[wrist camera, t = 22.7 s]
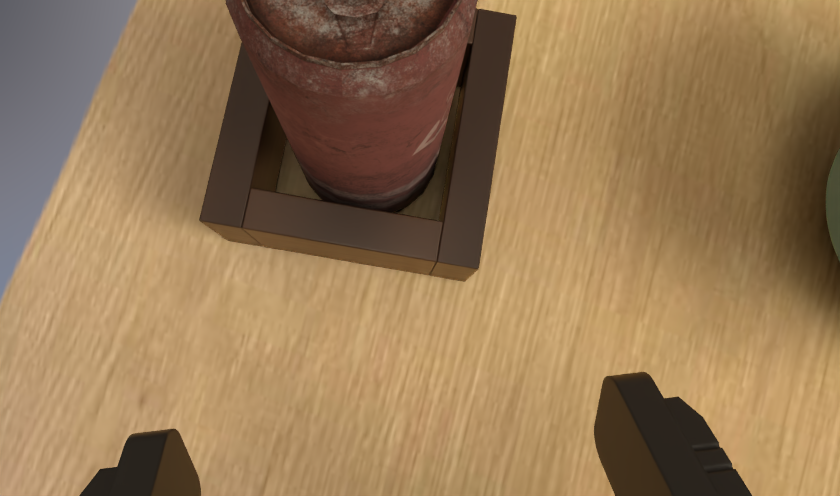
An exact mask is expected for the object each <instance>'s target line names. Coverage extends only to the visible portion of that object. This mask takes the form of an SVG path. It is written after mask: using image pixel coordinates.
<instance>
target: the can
mask: <svg viewBox="0 0 840 496" xmlns="http://www.w3.org/2000/svg"><path fill="white" fill-rule="evenodd" d="M476 4H477V0H226V5H227V8H228V10H229V12H230V15H231V17H232V20H233V22H234V24H235V27H236V29H237V32H238V34H239V36H240V39H241V41H242V43H243V45H244V47H245V49H246V51H247V54H248V56H249V58H250V60H251V62H252V64H253V66H254V68H255V71H256V73H257V75H258V77H259V79H260V81H261V83H262V85H263V88H264V90H265V92H266V94H267V96H268V98H269V100H270V103H271V105H272V107H273V109H274V111H275V113H276V115H277V117H278V120H279V122H280V124H281V126H282V128H283V130H284V132H285V134H286V137H287V139H288V141H289V143H290V145H291V147H292V149H293V151H294V154H295V156H296V158H297V160H298V162H299V164H300V166H301V168H302V171H303V173H304V175H305V177H306V179H307V181H308V183H309V185H310V186H311V187H312V189H313V190H314V191H315V192H316V193H317V194H318V195H319V197H320V198H321V199H322V200H323V201H329V202H334V203H340V204H346V205H351V206H357V207H363V208H369V209H374V210H380V211H386V212H391V213H392V212H395V211H397V210H400V209H402V208H404V207H406V206H408V205H409V204H410V203H411V202H412V201H413V200H415V199H416V198H417V197H418V196H419V195H421V194H422V193H423V191H424V189H425V188H426V186H427V184H428V183H429V181H430V179H431V178H432V176H433V174H434V170H435V166H436V162H437V158H438V154H439V150H440V147H441V143H442V139H443V135H444V131H445V127H446V123H447V119H448V116H449V112H450V108H451V104H452V100H453V96H454V92H455V88H456V85H457V81H458V77H459V73H460V69H461V65H462V61H463V57H464V53H465V50H466V46H467V42H468V38H469V34H470V30H471V26H472V22H473V18H474V13H475V9H476Z"/></svg>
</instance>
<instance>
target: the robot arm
mask: <svg viewBox="0 0 840 496" xmlns="http://www.w3.org/2000/svg"><path fill="white" fill-rule="evenodd" d="M594 437H595V444H596V448H597V452H598V455H599V458H600V461H601V463H602V465H603V468H604V470H605V472H606V475H607V477H608V480H609V482H610V484H611V487H612V489H613V491H614V494H615V496H752V495H751V493H750V491H749V490H748V488H747V487H746V485H745V484H744V482H743V480H742V479H741V477H740V476H739V474H738V472H737V471H736V469H733V467H732V463H731V461H730V460H729V458H728V457H727V455H726V453H725V452H724V450H723V449H722V448H720V447H719V442H718V441H717V439H716V437H715V436H714V434H713V433H712V431H711V430H710V428H709V426H708V425H707V423H706V422H705V420H704V418H703V417H702V416H701V415H699V414H698V413H697V412H696V411H695V410H694V409H692V408H691V407H690V406H689V405H688V404H686V403H685V402H684V401H683V400H682V399H681V398H679V397H673V398H665V399H664V398H663V396H662V394H661V393H660V391H659V389H658V388H657V386H656V384H655V382H654V381H653V379H652V378H651V376H650V375H649V374H647V373H646V372H638V373H630V374H622V375H614V376H607V377H605V378H604V380H603V384H602V389H601V394H600V399H599V405H598V410H597V415H596V420H595V425H594ZM80 496H201V488H200V481H199V477H198V474H197V472H196V470H195V468H194V465H193V463H192V461H191V458H190V456H189V454H188V452H187V449H186V447H185V445H184V442H183V440H182V438H181V436H180V434H179V432H178V431H177V430H176V429H168V430H160V431H152V432H143V433H135V434H132V435H130V436H129V438H128V439H127V441H126V443H125V445H124V448H123V451H122V454H121V457H120V460H119V463H118V466H117V467H113V468H105V469H100V470H99V471H98V473H97V474H96V475H95V476H94V478H93V479H92V480H91V482H90V483H89V484H88V485H87V487H86V488H85V489H84V490H83V492H82V493H81V494H80Z"/></svg>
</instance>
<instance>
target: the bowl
mask: <svg viewBox="0 0 840 496" xmlns="http://www.w3.org/2000/svg"><path fill="white" fill-rule="evenodd" d="M826 217H827V225H828V230H829V234H830V238H831V241H832V244H833V247H834V250H835V252H836V255H837V257H838V259H839V261H840V148H839V150H838V152H837V154H836V156H835V159H834V161H833V164H832V167H831V169H830V173H829V177H828V181H827V188H826Z"/></svg>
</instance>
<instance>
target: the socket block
mask: <svg viewBox="0 0 840 496" xmlns="http://www.w3.org/2000/svg"><path fill="white" fill-rule="evenodd" d="M516 18H517V17H516V15H510V14H505V13H500V12H494V11H489V10H483V9H477V8H476V9H475V13H474V18H473V22H472V26H471V30H470V34H469V38H468V42H467V46H466V50H465V53H464V57H463V61H462V65H461V69H460V73H459V77H458V81H457V85H456V86H461V89H460V95H459V101H458V107H457V113H456V119H455V125H454V131H453V137H452V143H451V150H450V156H449V162H448V168H447V174H446V180H445V186H444V192H443V198H442V204H441V210H440V216H439V221H437V220H431V219H426V218H420V217H414V216H409V215H403V214H397V213H391V212H386V211H380V210H374V209H369V208H363V207H357V206H351V205H346V204H340V203H334V202H329V201H323V200H317V199H311V198H306V197H300V196H294V195H289V194H283V193H277V192H275V189H276V184H277V180H278V175H279V170H280V166H281V161H282V157H283V152H284V147H285V143H286V138H287V137H286V134H285V132H284V130H283V128H282V126H281V124H280V122H279V120H278V117H277V115H276V113H275V111H274V109H273V107H272V105H271V103H270V100H269V98H268V96H267V94H266V92H265V90H264V88H263V85H262V83H261V81H260V79H259V77H258V75H257V73H256V71H255V68H254V66H253V64H252V62H251V60H250V58H249V56H248V54H247V51H246V49H245V47H244V45H243V43H241V48H240V52H239V56H238V60H237V64H236V69H235V73H234V77H233V81H232V85H231V89H230V94H229V98H228V102H227V106H226V110H225V114H224V119H223V123H222V127H221V131H220V135H219V140H218V144H217V148H216V152H215V156H214V160H213V165H212V169H211V173H210V177H209V181H208V185H207V190H206V194H205V198H204V202H203V206H202V211H201V215H200V219H199V220H200V221H201V222H202V223H204V224H205V225H206V226H208V227H209V228H211V229H212V230H214V231H215V232H217V233H218V234H219V235H221V236H222V237H224V238H225V239H227V240H228V241H234V242H240V243H245V244H251V245H257V246H264V247H269V248H275V249H280V250H286V251H292V252H298V253H303V254H309V255H315V256H321V257H327V258H332V259H338V260H344V261H350V262H355V263H361V264H367V265H373V266H379V267H384V268H390V269H396V270H402V271H407V272H413V273H419V274H425V275H429V274H430V275H431V276H436V277H442V278H448V279H453V280H459V281H466V280H467V279H468V278H469V277H470V276H471V275H472V274H473V273H474V272H476V271H477V270H478V269H479V263H480V256H481V250H482V243H483V237H484V230H485V223H486V217H487V210H488V203H489V197H490V190H491V184H492V177H493V170H494V164H495V157H496V150H497V144H498V137H499V131H500V124H501V117H502V111H503V104H504V97H505V91H506V84H507V78H508V71H509V64H510V58H511V51H512V44H513V38H514V31H515V25H516Z"/></svg>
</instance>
